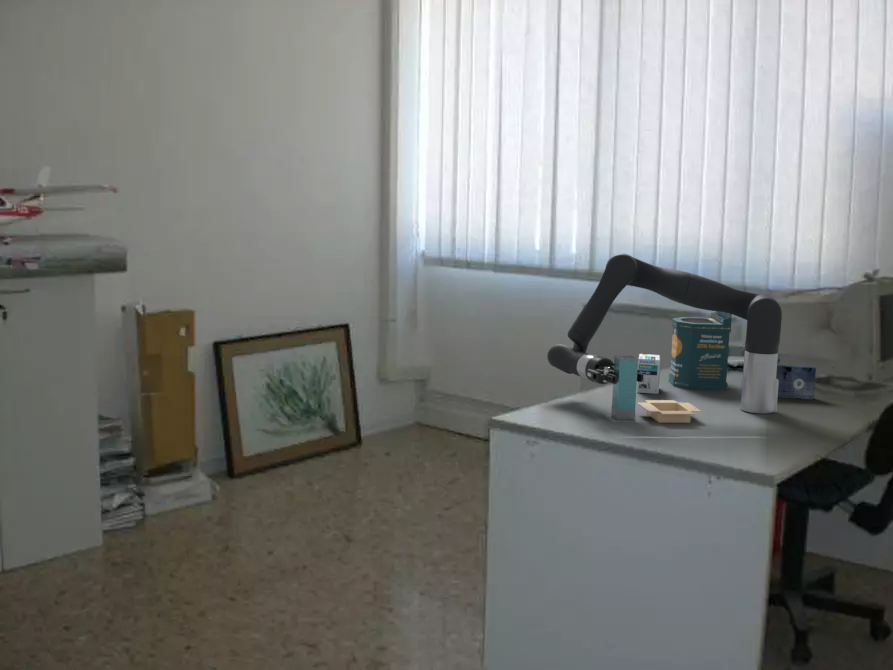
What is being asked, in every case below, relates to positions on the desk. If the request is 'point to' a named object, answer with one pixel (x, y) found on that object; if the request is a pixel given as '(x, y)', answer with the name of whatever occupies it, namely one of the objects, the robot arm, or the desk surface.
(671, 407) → the carton
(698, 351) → the donation box
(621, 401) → the tall box
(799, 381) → the vhs cassette tape
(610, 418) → the mat
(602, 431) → the desk surface
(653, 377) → the light bulb box
